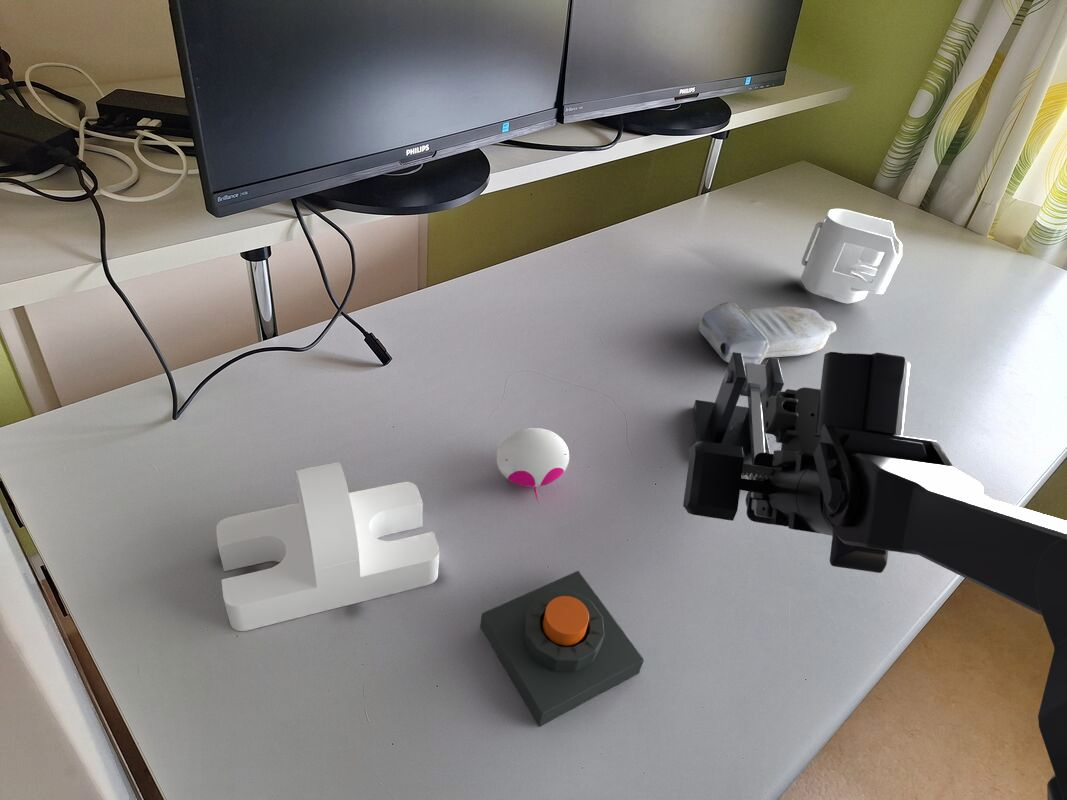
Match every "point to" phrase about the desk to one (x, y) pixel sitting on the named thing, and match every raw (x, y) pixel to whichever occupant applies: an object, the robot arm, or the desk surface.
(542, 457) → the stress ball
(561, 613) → the button
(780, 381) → the bracket
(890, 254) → the white plastic holder
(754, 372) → the lever
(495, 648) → the button box
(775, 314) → the handheld device
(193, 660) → the desk surface
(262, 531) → the white slotted mount
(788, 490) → the robot arm
